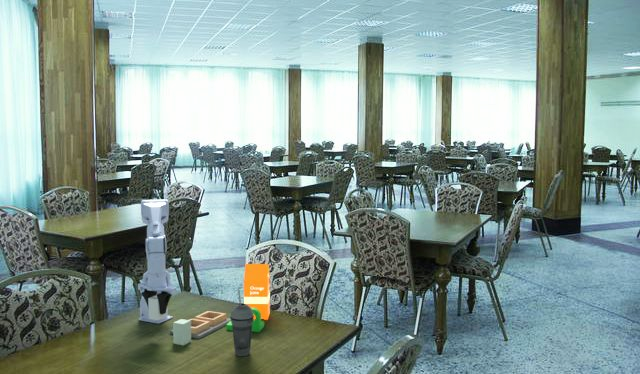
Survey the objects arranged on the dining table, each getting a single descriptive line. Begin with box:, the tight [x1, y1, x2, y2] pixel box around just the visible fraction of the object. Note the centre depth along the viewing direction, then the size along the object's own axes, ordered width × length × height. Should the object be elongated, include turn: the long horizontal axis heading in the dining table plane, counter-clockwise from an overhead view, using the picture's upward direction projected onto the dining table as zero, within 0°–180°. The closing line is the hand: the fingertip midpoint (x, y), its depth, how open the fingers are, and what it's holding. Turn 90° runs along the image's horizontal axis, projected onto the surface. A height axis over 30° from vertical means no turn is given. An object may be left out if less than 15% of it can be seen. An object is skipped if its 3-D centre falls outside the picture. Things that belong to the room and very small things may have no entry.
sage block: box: [172, 318, 192, 346], centre depth 188 cm, size 4×4×7 cm
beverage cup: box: [229, 288, 254, 357], centre depth 178 cm, size 7×7×20 cm
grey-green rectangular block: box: [148, 295, 166, 320], centre depth 192 cm, size 4×4×7 cm
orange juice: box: [243, 263, 271, 321], centre depth 215 cm, size 8×9×20 cm
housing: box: [169, 310, 231, 340], centre depth 203 cm, size 12×20×3 cm, turn 155°
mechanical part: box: [225, 308, 265, 333], centre depth 202 cm, size 12×6×8 cm, turn 80°
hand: (157, 312), depth 192 cm, fingers closed on grey-green rectangular block, 4 cm apart
